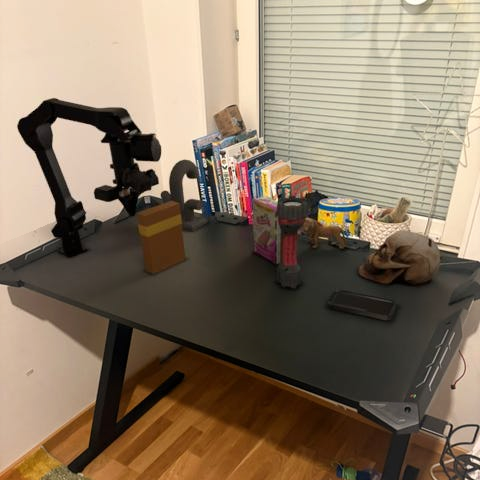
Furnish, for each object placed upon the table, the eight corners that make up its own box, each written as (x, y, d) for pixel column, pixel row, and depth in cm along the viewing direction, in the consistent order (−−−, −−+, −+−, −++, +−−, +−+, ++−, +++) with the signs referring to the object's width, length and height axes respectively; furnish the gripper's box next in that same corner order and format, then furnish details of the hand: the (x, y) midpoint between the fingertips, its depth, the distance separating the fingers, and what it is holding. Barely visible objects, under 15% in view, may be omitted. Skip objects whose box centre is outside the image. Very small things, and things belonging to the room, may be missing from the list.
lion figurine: (300, 250, 145) (301, 221, 140) (299, 242, 149) (300, 214, 144) (350, 249, 144) (353, 220, 139) (347, 242, 148) (350, 214, 143)
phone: (336, 289, 122) (397, 301, 116) (336, 292, 123) (397, 305, 117) (326, 303, 116) (390, 317, 110) (326, 307, 117) (389, 321, 111)
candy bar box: (252, 252, 145) (251, 198, 136) (265, 247, 147) (265, 194, 138) (275, 265, 137) (275, 209, 128) (289, 260, 139) (290, 205, 130)
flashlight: (298, 294, 123) (301, 207, 110) (270, 288, 126) (270, 202, 114) (309, 281, 128) (314, 196, 116) (283, 275, 132) (284, 192, 119)
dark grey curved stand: (221, 216, 171) (217, 158, 160) (194, 231, 160) (188, 170, 149) (180, 207, 179) (174, 152, 168) (152, 222, 168) (144, 163, 157)
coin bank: (353, 268, 133) (364, 222, 126) (408, 265, 138) (421, 220, 130) (381, 297, 121) (395, 248, 113) (441, 293, 125) (457, 245, 118)
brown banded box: (145, 270, 137) (136, 213, 128) (177, 256, 144) (171, 200, 135) (153, 274, 135) (144, 216, 126) (185, 259, 142) (179, 203, 133)
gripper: (115, 173, 118) (126, 233, 127) (169, 155, 131) (175, 211, 139) (87, 166, 124) (98, 224, 133) (141, 150, 137) (148, 204, 145)
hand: (132, 216), depth 137 cm, fingers closed
